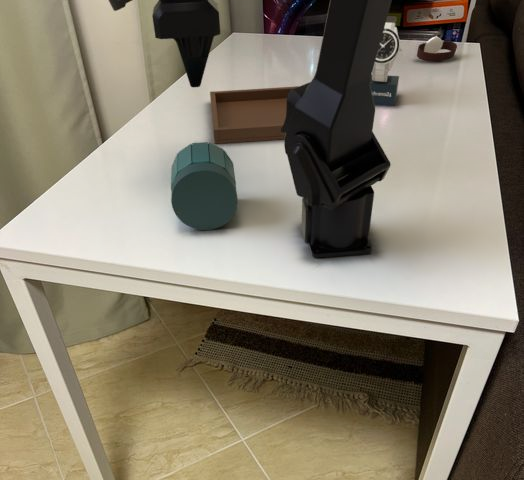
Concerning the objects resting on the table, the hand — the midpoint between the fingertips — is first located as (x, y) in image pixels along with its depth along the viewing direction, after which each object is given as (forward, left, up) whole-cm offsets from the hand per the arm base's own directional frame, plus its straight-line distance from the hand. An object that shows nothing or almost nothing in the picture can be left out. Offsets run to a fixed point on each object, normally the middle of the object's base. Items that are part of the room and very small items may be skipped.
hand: (195, 86), depth 63 cm
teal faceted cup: (0, +9, -11) cm, 15 cm away
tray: (-9, -18, -11) cm, 23 cm away
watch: (-29, -23, -12) cm, 39 cm away
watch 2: (-45, -42, -12) cm, 63 cm away
